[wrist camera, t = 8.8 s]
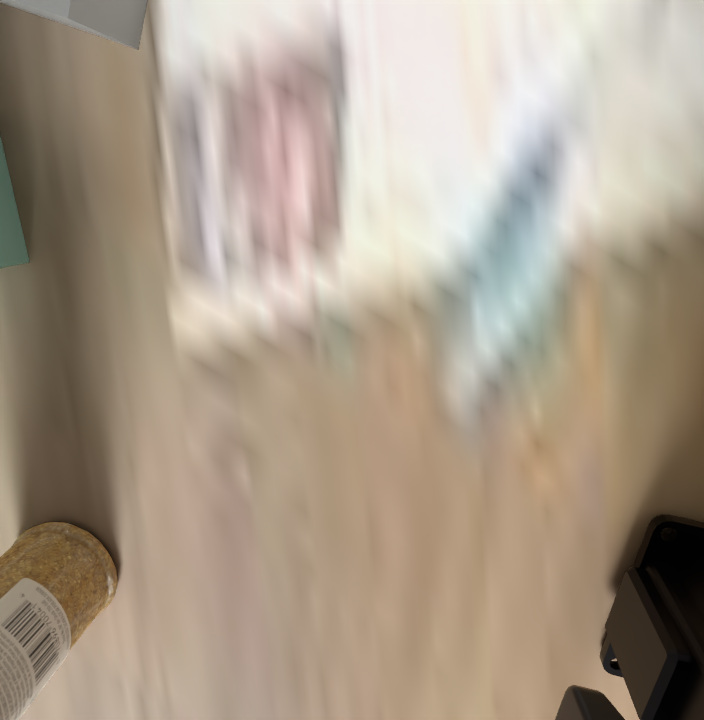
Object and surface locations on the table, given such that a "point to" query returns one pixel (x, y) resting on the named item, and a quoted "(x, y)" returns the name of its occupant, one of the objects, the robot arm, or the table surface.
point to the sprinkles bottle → (47, 606)
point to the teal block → (9, 221)
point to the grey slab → (92, 16)
